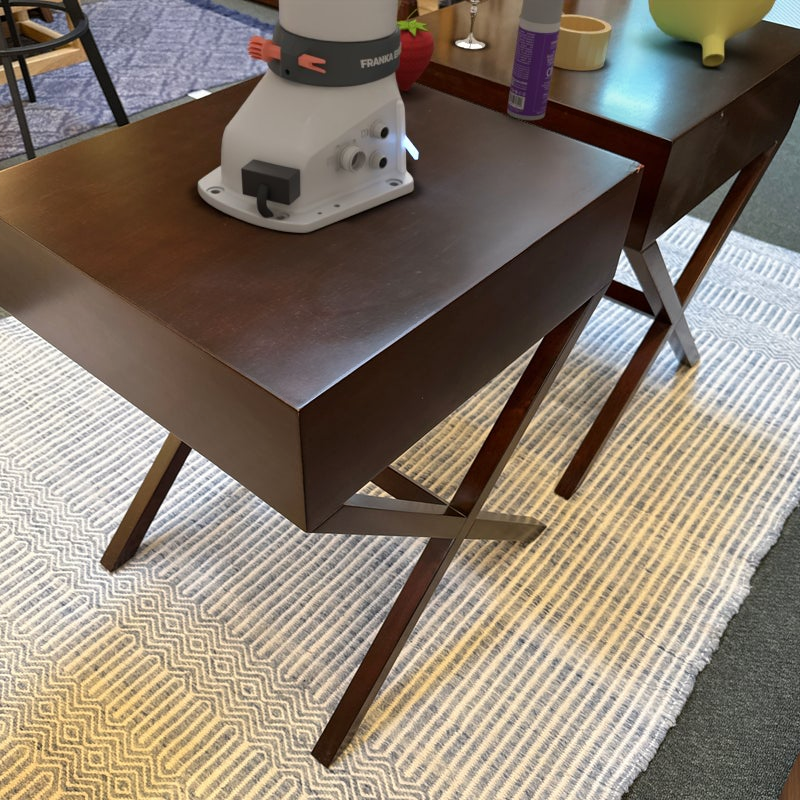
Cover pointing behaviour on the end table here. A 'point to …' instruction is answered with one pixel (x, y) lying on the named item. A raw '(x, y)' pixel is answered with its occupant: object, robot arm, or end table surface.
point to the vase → (708, 21)
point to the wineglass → (470, 41)
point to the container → (534, 58)
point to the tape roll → (582, 43)
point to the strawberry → (413, 52)
